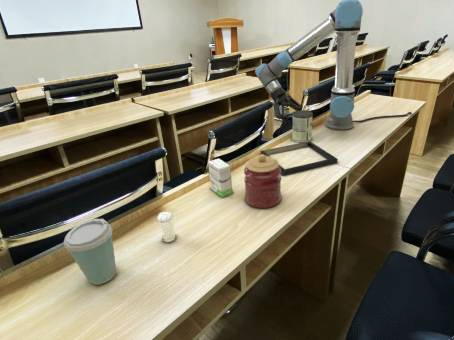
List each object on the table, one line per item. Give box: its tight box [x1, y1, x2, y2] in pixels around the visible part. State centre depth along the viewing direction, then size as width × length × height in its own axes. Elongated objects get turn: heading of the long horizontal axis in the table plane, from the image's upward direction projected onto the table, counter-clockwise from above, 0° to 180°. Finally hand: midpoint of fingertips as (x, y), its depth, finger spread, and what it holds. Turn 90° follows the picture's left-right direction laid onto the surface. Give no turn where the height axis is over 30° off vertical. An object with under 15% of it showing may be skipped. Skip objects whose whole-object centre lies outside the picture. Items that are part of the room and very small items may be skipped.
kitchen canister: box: [243, 154, 282, 209], centre depth 108 cm, size 13×13×18 cm
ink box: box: [207, 158, 234, 198], centre depth 115 cm, size 9×5×12 cm, turn 38°
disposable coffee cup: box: [63, 218, 117, 286], centre depth 77 cm, size 11×11×15 cm
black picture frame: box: [259, 141, 339, 176], centre depth 141 cm, size 27×23×2 cm
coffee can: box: [291, 109, 314, 143], centre depth 159 cm, size 10×10×14 cm
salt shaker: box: [153, 211, 176, 243], centre depth 91 cm, size 4×5×10 cm
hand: (298, 124), depth 160 cm, fingers open, 13 cm apart
